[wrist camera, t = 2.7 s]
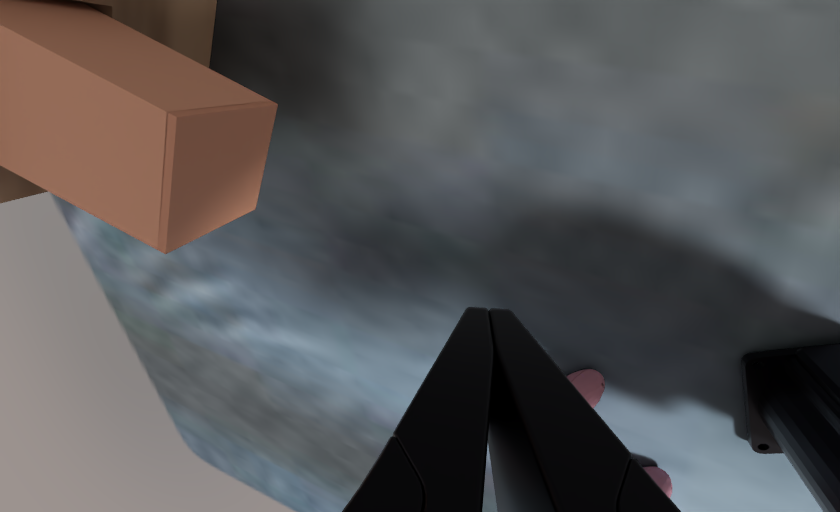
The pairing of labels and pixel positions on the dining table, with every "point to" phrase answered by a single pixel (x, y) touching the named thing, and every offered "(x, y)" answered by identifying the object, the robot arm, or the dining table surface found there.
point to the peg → (126, 124)
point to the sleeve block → (157, 19)
